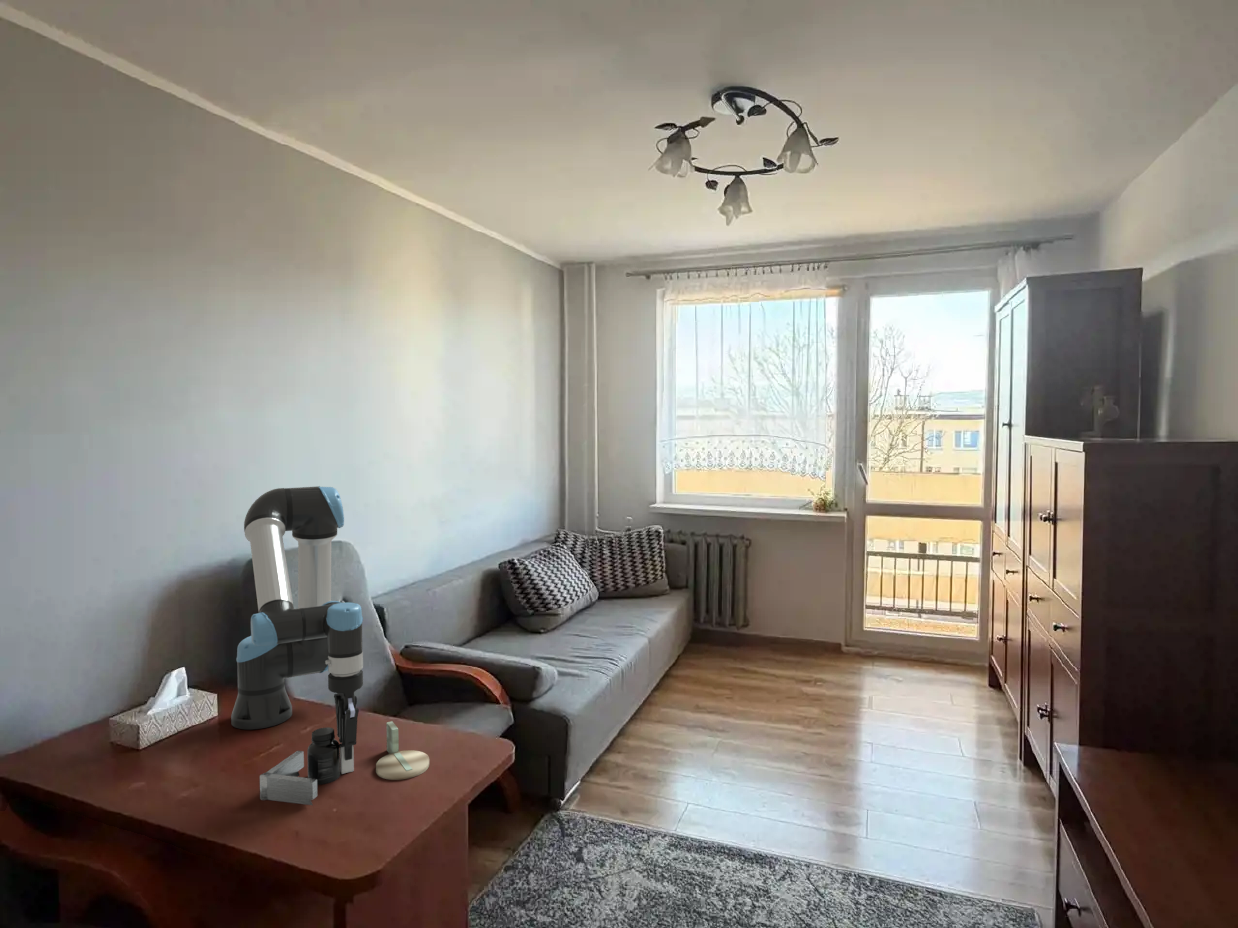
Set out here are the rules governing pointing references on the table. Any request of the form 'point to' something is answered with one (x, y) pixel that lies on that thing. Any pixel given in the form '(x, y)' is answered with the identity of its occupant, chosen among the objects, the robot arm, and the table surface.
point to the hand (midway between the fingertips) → (347, 770)
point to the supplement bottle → (323, 756)
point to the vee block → (288, 782)
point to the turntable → (400, 759)
